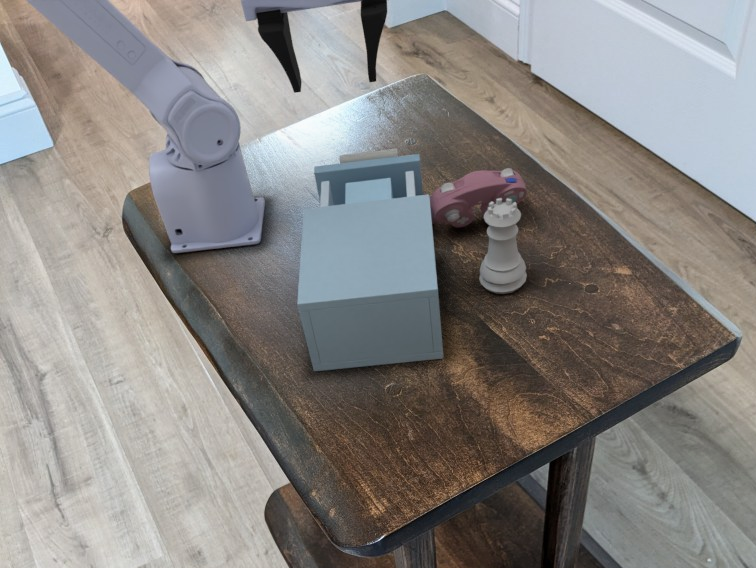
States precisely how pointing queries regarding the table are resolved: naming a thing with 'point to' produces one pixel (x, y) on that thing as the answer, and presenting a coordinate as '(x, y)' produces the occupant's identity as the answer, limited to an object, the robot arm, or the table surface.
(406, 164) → the freezer drawer
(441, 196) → the pink toy car
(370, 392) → the table surface
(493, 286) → the rook chess piece
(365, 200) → the ice block
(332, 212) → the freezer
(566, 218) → the table surface
